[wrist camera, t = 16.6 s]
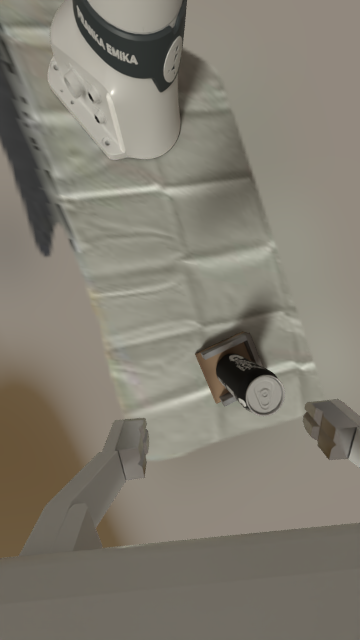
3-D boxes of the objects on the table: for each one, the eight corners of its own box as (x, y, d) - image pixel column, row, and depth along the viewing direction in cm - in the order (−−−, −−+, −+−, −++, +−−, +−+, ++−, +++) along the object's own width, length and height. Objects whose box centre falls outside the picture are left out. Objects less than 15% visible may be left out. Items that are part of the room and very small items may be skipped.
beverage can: (243, 350, 37) (286, 368, 25) (246, 381, 38) (289, 414, 26) (212, 355, 36) (241, 376, 24) (216, 387, 37) (245, 423, 25)
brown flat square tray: (215, 401, 38) (220, 408, 35) (194, 353, 37) (198, 357, 34) (261, 378, 39) (269, 383, 36) (242, 331, 38) (249, 333, 35)
